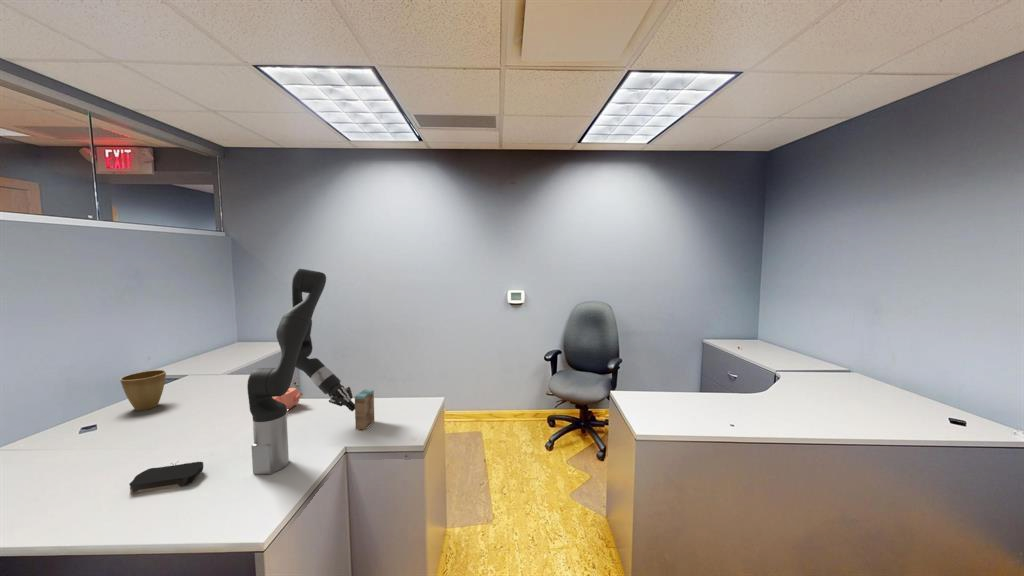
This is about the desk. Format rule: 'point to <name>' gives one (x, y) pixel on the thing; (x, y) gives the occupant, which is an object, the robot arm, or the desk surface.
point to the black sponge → (166, 477)
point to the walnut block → (364, 409)
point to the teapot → (289, 398)
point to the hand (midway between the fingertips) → (354, 409)
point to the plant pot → (144, 388)
